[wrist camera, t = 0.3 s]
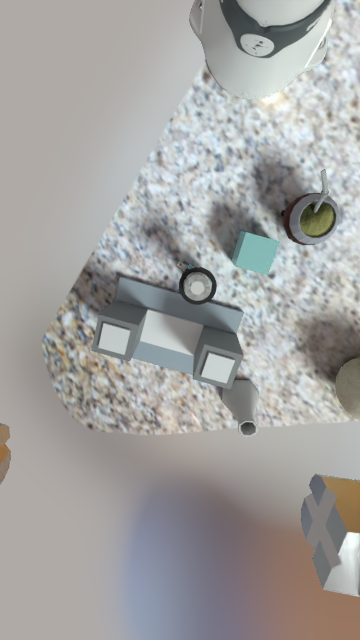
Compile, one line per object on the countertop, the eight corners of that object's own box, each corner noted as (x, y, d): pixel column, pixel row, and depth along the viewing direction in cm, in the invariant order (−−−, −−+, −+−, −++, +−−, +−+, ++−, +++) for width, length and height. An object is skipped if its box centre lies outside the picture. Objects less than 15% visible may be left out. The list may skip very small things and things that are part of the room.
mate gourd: (308, 249, 50) (353, 260, 35) (263, 231, 49) (290, 235, 35) (331, 202, 47) (389, 195, 33) (285, 183, 47) (323, 167, 33)
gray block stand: (121, 276, 53) (103, 289, 43) (242, 311, 53) (253, 331, 43) (105, 347, 57) (86, 374, 47) (218, 379, 58) (222, 412, 48)
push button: (169, 274, 52) (163, 286, 43) (188, 248, 51) (185, 254, 41) (200, 297, 53) (201, 313, 44) (219, 272, 52) (224, 284, 42)
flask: (253, 374, 57) (264, 404, 48) (263, 406, 59) (275, 441, 50) (216, 384, 58) (219, 415, 49) (227, 415, 60) (232, 451, 51)
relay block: (235, 266, 45) (231, 260, 51) (267, 275, 45) (259, 268, 51) (246, 232, 44) (240, 230, 49) (279, 241, 44) (270, 238, 49)
